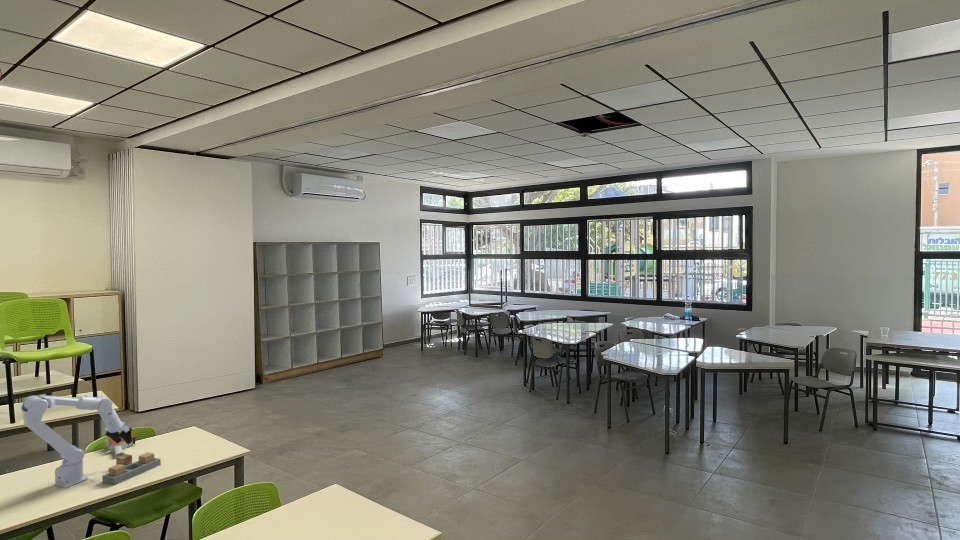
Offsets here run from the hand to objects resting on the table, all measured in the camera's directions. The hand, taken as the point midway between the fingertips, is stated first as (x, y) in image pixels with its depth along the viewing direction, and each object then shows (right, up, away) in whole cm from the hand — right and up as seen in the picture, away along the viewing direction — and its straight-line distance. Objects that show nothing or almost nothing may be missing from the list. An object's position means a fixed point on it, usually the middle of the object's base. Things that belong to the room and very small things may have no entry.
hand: (124, 442), depth 248 cm
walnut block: (+1, -11, -1) cm, 11 cm away
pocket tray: (+10, -11, -8) cm, 17 cm away
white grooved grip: (-16, -11, +18) cm, 26 cm away
